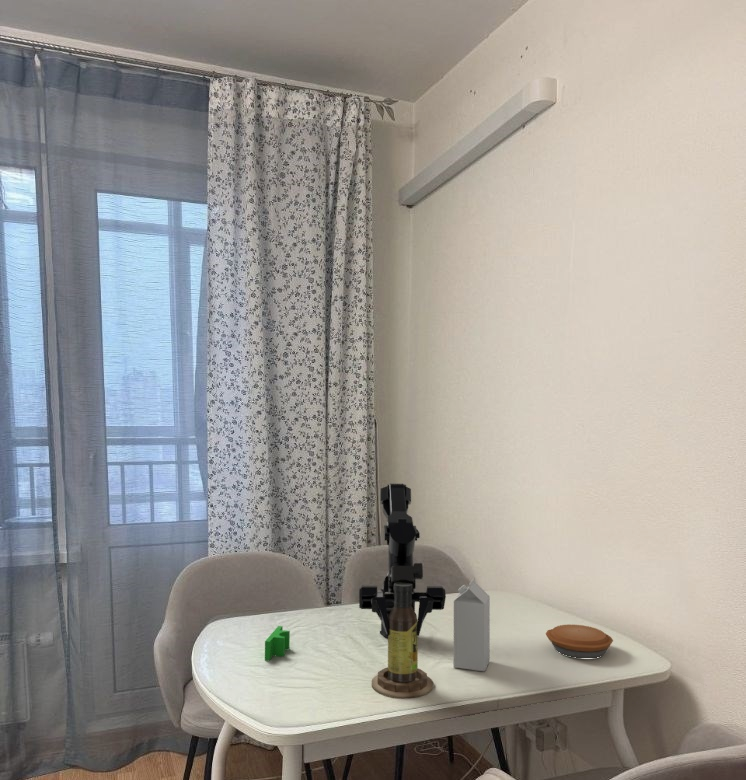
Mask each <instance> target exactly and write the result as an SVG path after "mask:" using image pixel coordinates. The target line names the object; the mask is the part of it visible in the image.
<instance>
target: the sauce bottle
mask: <svg viewBox="0 0 746 780" xmlns="http://www.w3.org/2000/svg"><path fill="white" fill-rule="evenodd" d="M412 589H413V587H412V583H409V582H395V583H394V587H393V590H394V607H393V609H392V610H391V612H390V614H389V635H388V638H387V667H388V670H389V673H388V674H389V679H390V680H391V681H393V682H396V683H408V682H412V681H414V680H415V679H416V677H417V670H418V669H419V667H418V664H419V663H418V661H419V660H418V659H419V658H418V654H419V653H418V646H419V645H418V644H419V643H418V642H419V641H418V637H419V636H417V622H418V614H417V613H416V610H415V611H414V609H413V608H412V606H411V605H412Z"/></svg>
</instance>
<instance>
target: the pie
mask: <svg viewBox="0 0 746 780" xmlns="http://www.w3.org/2000/svg"><path fill="white" fill-rule="evenodd" d="M545 635H546V637H547V638H548V640H549V642H551V644H552V646H553V648H554V650H555V651H556V650H557V651H558V652H560V653H561V654H560V653H559V654H560V655H562V654H564V655H567V656H571V657H576V658H597V657H600V656H602V655H603V654H604V655H605V653H606V651H607V650H608V648H609V647H610V646H611V645H612V643H613V642H614V639H613V638H612V637H611V636H610V635H608V634H607V633H605V632H604V631H603V630H602V629H598V628H596V627H592V626H588V625H582V624H562V625H557V626H554V628H552V629H548V630H546V632H545ZM557 651H556V652H557ZM558 652H557V653H558ZM564 655H563V656H564ZM604 655H603V656H604ZM567 656H566V657H567ZM603 656H602V657H603ZM571 657H570V658H571ZM576 658H575V659H576ZM600 658H601V657H600ZM597 659H598V658H597Z"/></svg>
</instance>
